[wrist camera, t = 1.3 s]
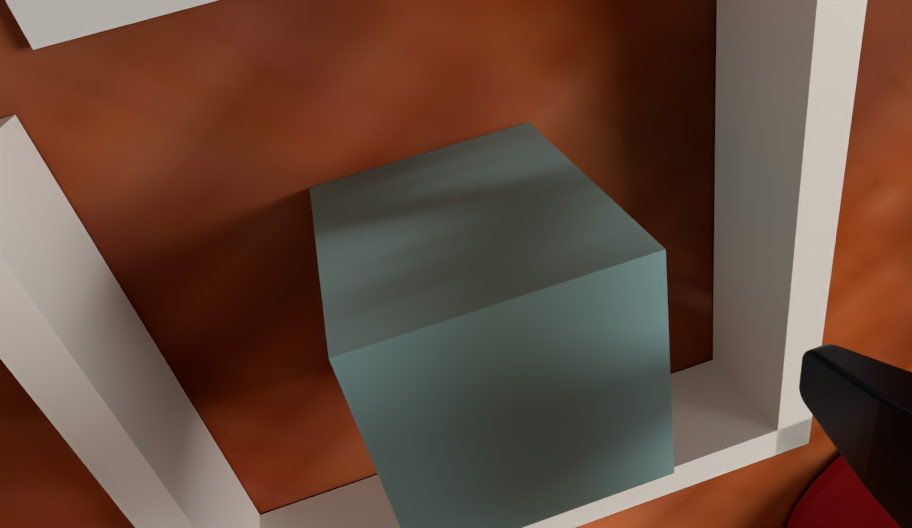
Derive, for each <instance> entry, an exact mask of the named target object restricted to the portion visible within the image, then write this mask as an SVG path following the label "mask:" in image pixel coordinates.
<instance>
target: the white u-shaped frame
mask: <svg viewBox="0 0 912 528" xmlns="http://www.w3.org/2000/svg"><path fill="white" fill-rule="evenodd" d="M866 5H867V0H717V13H716V105H715V197H714V288H713V360H711V361H708V362H705V363H702V364H699V365H696V366H693V367H690V368H687V369H684V370H681V371H679V372H676V373H673V374H670V375H671V401H672V427H673V453H674V473H673V474H671V475H668V476H665V477H662V478H659V479H657V480H654V481H651V482H648V483H645V484H643V485H640V486H637V487H634V488H631V489H629V490H626V491H623V492H620V493H618V494H615V495H612V496H609V497H606V498H604V499H601V500H598V501H595V502H592V503H590V504H587V505H584V506H581V507H578V508H576V509H573V510H570V511H567V512H565V513H562V514H559V515H556V516H553V517H551V518H548V519H545V520H542V521H539V522H537V523H534V524H531V525H528V526H525V527H523V528H575V527H578V526H581V525H583V524H586V523H589V522H592V521H594V520H597V519H600V518H603V517H605V516H608V515H611V514H614V513H617V512H619V511H622V510H625V509H628V508H630V507H633V506H636V505H639V504H642V503H644V502H647V501H650V500H653V499H655V498H658V497H661V496H664V495H666V494H669V493H672V492H675V491H678V490H680V489H683V488H686V487H689V486H691V485H694V484H697V483H700V482H702V481H705V480H708V479H711V478H714V477H716V476H719V475H722V474H725V473H727V472H730V471H733V470H736V469H738V468H741V467H744V466H747V465H750V464H752V463H755V462H758V461H761V460H763V459H766V458H769V457H772V456H774V455H777V454H780V453H783V452H786V451H788V450H791V449H794V448H797V447H799V446H802V445H805V444H808V443H809V436H810V429H811V421H812V413H811V412H810V410H809V409H808V408H807V406H806V405H805V403H804V402H803V400H802V398H801V395H800V390H799V383H800V374H801V365H802V357H803V355H804V353H805V352H806V351H808V350H810V349H813V348H816V347H819V346H822V338H823V330H824V323H825V315H826V308H827V300H828V293H829V285H830V278H831V270H832V262H833V255H834V247H835V240H836V232H837V225H838V217H839V210H840V202H841V194H842V187H843V179H844V172H845V164H846V157H847V149H848V141H849V134H850V126H851V119H852V111H853V104H854V96H855V89H856V81H857V73H858V66H859V58H860V51H861V43H862V36H863V28H864V21H865V13H866ZM0 359H1V360H2V361H3V363H4V364H5V365H6V366H7V368H8V369H9V370H10V372H11V373H12V374H13V375H14V377H15V378H16V379H17V380H18V382H19V383H20V384H21V385H22V387H23V388H24V389H25V390H26V392H27V393H28V394H29V395H30V397H31V398H32V399H33V400H34V402H35V403H36V404H37V405H38V407H39V408H40V409H41V410H42V412H43V413H44V414H45V415H46V417H47V418H48V419H49V420H50V422H51V423H52V424H53V425H54V427H55V428H56V429H57V431H58V432H59V433H60V434H61V436H62V437H63V438H64V439H65V441H66V442H67V443H68V444H69V446H70V447H71V448H72V449H73V451H74V452H75V453H76V454H77V456H78V457H79V458H80V459H81V461H82V462H83V463H84V464H85V466H86V467H87V468H88V469H89V471H90V472H91V473H92V474H93V476H94V477H95V478H96V479H97V481H98V482H99V483H100V484H101V486H102V487H103V488H104V489H105V491H106V492H107V493H108V495H109V496H110V497H111V498H112V500H113V501H114V502H115V503H116V505H117V506H118V507H119V508H120V510H121V511H122V512H123V513H124V515H125V516H126V517H127V518H128V520H129V521H130V522H131V523H132V525H133V526H134V527H135V528H400V526H399V523H398V521H397V518H396V516H395V514H394V511H393V509H392V507H391V504H390V502H389V500H388V497H387V495H386V493H385V490H384V488H383V485H382V483H381V481H380V478H379V476H378V475H375V476H372V477H369V478H366V479H363V480H361V481H358V482H355V483H352V484H349V485H346V486H343V487H340V488H337V489H334V490H331V491H328V492H326V493H323V494H320V495H317V496H314V497H311V498H308V499H305V500H302V501H299V502H296V503H293V504H291V505H288V506H285V507H282V508H279V509H276V510H273V511H270V512H267V513H264V514H261V515H260V514H259V513H258V511H257V510H256V508H255V506H254V505H253V503H252V501H251V500H250V498H249V496H248V495H247V493H246V492H245V490H244V488H243V487H242V485H241V483H240V482H239V480H238V478H237V477H236V475H235V474H234V472H233V470H232V469H231V467H230V465H229V464H228V462H227V460H226V459H225V457H224V456H223V454H222V452H221V451H220V449H219V447H218V446H217V444H216V442H215V441H214V439H213V438H212V436H211V434H210V433H209V431H208V429H207V428H206V426H205V424H204V423H203V421H202V420H201V418H200V416H199V415H198V413H197V411H196V410H195V408H194V406H193V405H192V403H191V402H190V400H189V398H188V397H187V395H186V393H185V392H184V390H183V388H182V387H181V385H180V383H179V382H178V380H177V379H176V377H175V375H174V374H173V372H172V370H171V369H170V367H169V365H168V364H167V362H166V361H165V359H164V357H163V356H162V354H161V352H160V351H159V349H158V347H157V346H156V344H155V343H154V341H153V339H152V338H151V336H150V334H149V333H148V331H147V329H146V328H145V326H144V325H143V323H142V321H141V320H140V318H139V316H138V315H137V313H136V311H135V310H134V308H133V307H132V305H131V303H130V302H129V300H128V298H127V297H126V295H125V293H124V292H123V290H122V289H121V287H120V285H119V284H118V282H117V280H116V279H115V277H114V275H113V274H112V272H111V271H110V269H109V267H108V266H107V264H106V262H105V261H104V259H103V257H102V256H101V254H100V253H99V251H98V249H97V248H96V246H95V244H94V243H93V241H92V239H91V238H90V236H89V235H88V233H87V231H86V230H85V228H84V226H83V225H82V223H81V221H80V220H79V218H78V216H77V215H76V213H75V212H74V210H73V208H72V207H71V205H70V203H69V202H68V200H67V198H66V197H65V195H64V194H63V192H62V190H61V189H60V187H59V185H58V184H57V182H56V180H55V179H54V177H53V176H52V174H51V172H50V171H49V169H48V167H47V166H46V164H45V162H44V161H43V159H42V158H41V156H40V154H39V153H38V151H37V149H36V148H35V146H34V144H33V143H32V141H31V140H30V138H29V136H28V135H27V133H26V131H25V130H24V128H23V126H22V125H21V123H20V122H19V120H18V118H17V117H16V115H12V116H9V117H5V118H1V119H0Z"/></svg>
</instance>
